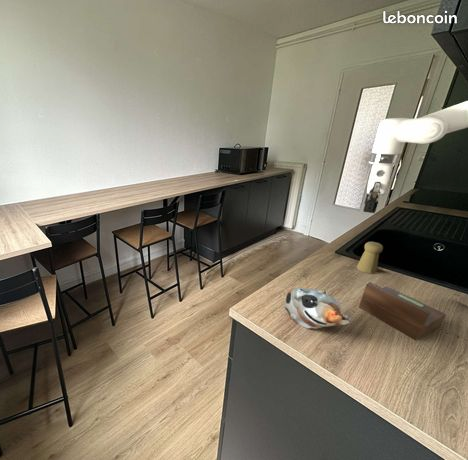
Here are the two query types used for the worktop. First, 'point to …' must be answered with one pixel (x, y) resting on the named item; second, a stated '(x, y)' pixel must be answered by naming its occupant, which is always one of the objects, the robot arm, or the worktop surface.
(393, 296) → the brown wooden box
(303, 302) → the snowman head
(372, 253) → the cork
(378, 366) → the worktop surface
